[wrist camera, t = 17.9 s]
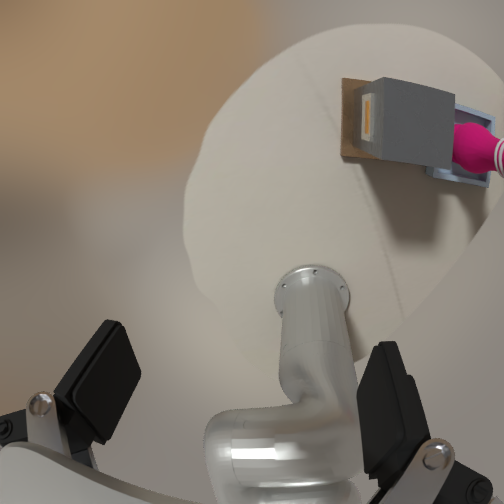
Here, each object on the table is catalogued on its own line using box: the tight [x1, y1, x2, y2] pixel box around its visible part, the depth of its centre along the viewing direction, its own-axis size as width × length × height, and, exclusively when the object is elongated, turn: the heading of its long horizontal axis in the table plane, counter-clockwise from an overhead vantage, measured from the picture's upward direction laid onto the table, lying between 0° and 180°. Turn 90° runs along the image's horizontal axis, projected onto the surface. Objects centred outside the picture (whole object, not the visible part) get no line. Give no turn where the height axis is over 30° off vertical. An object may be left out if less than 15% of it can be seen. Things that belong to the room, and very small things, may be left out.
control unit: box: [340, 77, 455, 170], centre depth 28 cm, size 11×11×14 cm
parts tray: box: [426, 103, 495, 188], centre depth 31 cm, size 12×12×3 cm
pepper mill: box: [452, 122, 504, 178], centre depth 23 cm, size 7×7×20 cm
